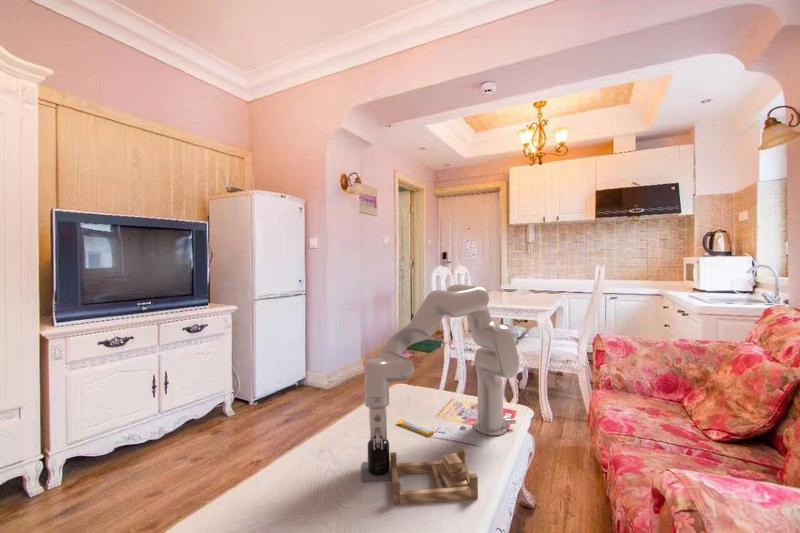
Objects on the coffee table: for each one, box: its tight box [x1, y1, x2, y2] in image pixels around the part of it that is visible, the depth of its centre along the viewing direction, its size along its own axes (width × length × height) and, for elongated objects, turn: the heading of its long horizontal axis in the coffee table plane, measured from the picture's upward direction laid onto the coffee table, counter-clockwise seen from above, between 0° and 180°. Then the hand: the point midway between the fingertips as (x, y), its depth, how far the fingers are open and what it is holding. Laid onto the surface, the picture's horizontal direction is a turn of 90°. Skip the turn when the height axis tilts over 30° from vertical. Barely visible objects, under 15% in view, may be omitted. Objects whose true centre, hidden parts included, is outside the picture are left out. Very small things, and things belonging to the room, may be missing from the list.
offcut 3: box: [438, 468, 468, 488], centre depth 107 cm, size 6×9×3 cm, turn 11°
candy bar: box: [396, 418, 435, 438], centre depth 142 cm, size 17×4×2 cm, turn 48°
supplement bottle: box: [367, 433, 390, 476], centre depth 114 cm, size 7×7×12 cm
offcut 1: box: [442, 452, 462, 473], centre depth 107 cm, size 4×5×2 cm
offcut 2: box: [439, 462, 467, 484], centre depth 107 cm, size 5×7×2 cm
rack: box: [389, 447, 479, 505], centre depth 107 cm, size 23×15×6 cm, turn 95°
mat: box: [361, 461, 392, 483], centre depth 114 cm, size 10×10×1 cm
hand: (378, 453), depth 114 cm, fingers open, 9 cm apart
